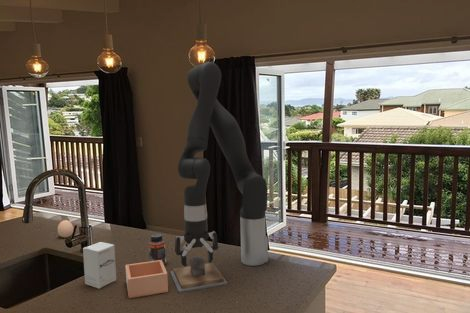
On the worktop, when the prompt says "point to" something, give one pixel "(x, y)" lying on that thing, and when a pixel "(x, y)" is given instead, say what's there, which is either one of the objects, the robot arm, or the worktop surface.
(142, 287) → the open cardboard tray
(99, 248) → the supplement box
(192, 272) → the lid
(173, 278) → the mat
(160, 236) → the supplement bottle
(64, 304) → the worktop surface
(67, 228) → the egg
